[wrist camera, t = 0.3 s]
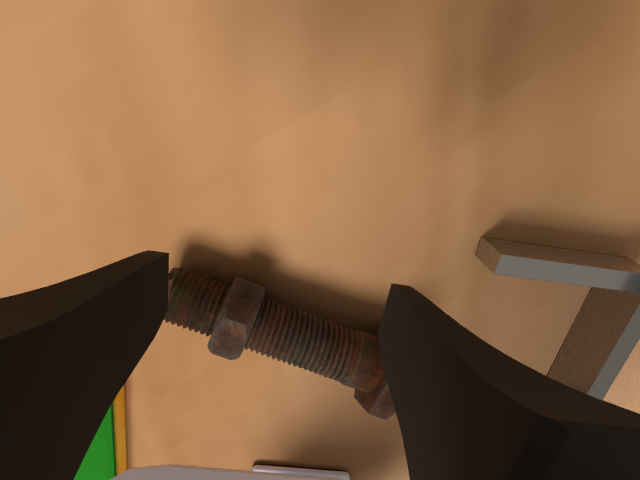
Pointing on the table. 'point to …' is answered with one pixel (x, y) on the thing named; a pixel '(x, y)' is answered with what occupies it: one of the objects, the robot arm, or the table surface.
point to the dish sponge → (107, 446)
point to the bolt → (279, 334)
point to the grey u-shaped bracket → (595, 315)
